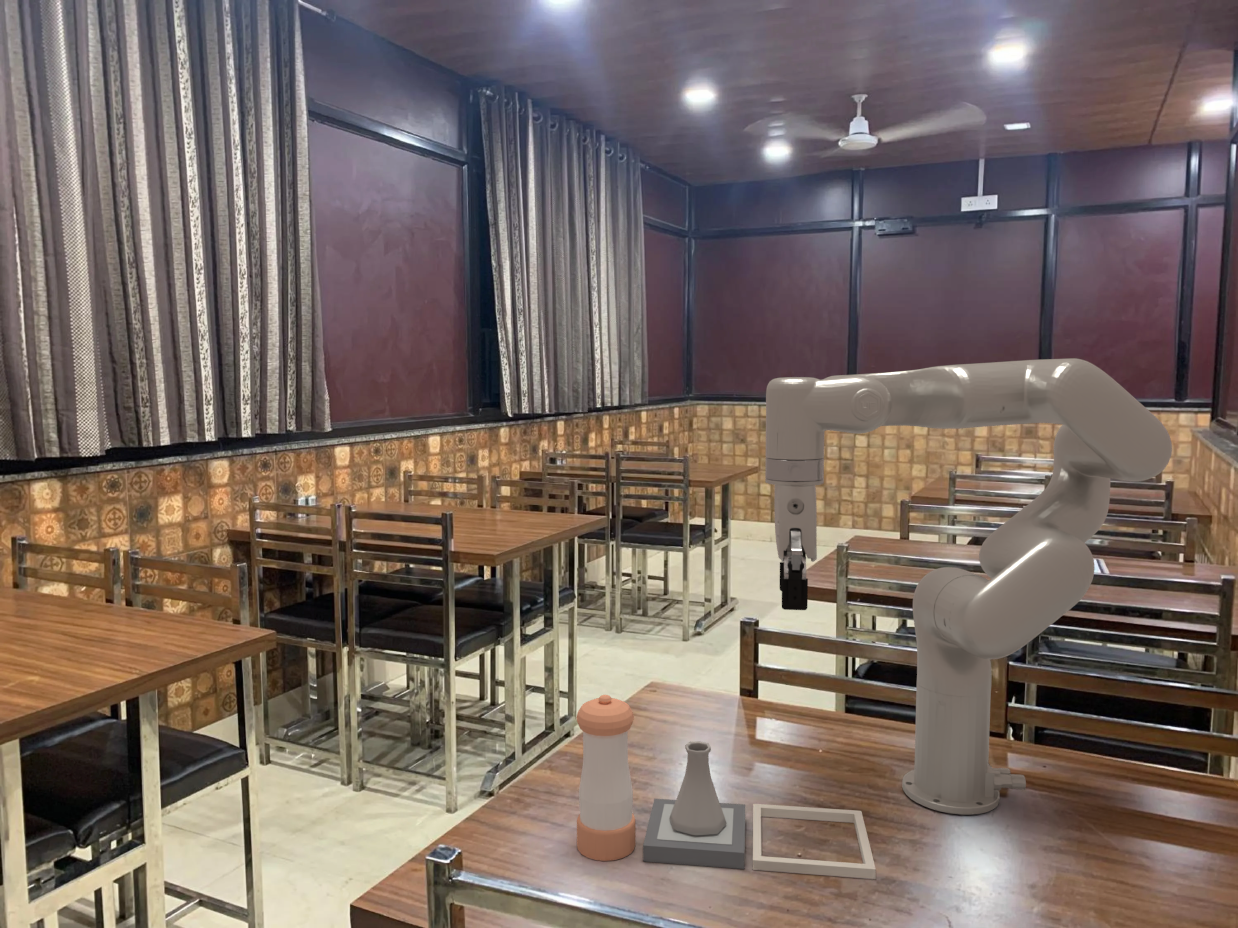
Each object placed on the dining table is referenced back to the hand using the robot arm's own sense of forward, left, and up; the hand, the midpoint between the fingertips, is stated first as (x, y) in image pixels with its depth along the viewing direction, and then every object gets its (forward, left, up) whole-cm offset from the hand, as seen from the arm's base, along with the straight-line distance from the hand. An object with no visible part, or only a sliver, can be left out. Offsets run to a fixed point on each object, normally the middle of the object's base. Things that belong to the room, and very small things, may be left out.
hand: (792, 599), depth 117 cm
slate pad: (+12, +11, -28) cm, 33 cm away
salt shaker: (+23, +14, -28) cm, 39 cm away
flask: (+12, +11, -26) cm, 31 cm away
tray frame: (-2, +10, -28) cm, 30 cm away
